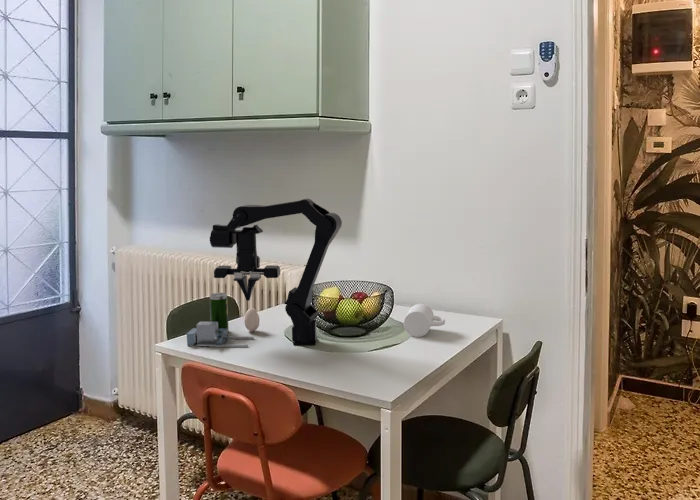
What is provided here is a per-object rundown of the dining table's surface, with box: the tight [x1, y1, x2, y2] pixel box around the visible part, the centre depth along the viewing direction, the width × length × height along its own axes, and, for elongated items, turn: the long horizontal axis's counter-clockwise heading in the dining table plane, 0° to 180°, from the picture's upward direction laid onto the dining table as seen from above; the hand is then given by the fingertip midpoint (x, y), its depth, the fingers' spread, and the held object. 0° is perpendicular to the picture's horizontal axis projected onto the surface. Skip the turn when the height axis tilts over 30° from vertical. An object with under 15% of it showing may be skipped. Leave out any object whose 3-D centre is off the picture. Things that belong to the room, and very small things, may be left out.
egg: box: [243, 307, 260, 333], centre depth 202 cm, size 5×5×7 cm
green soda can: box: [209, 292, 229, 332], centre depth 201 cm, size 5×5×12 cm
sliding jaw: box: [214, 328, 229, 344], centre depth 189 cm, size 2×10×3 cm, turn 177°
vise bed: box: [186, 327, 255, 348], centre depth 190 cm, size 18×8×4 cm, turn 87°
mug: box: [403, 303, 446, 338], centre depth 198 cm, size 12×10×8 cm
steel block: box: [195, 321, 218, 345], centre depth 190 cm, size 4×6×6 cm, turn 87°
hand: (248, 300), depth 192 cm, fingers closed
